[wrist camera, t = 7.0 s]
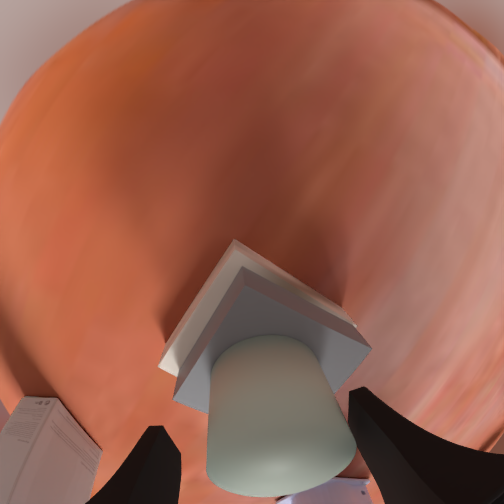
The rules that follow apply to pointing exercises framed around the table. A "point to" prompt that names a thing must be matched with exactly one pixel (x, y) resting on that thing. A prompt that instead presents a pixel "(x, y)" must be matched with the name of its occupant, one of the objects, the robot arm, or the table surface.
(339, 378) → the top block
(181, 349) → the base block
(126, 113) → the table surface
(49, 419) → the skincare box
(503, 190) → the table surface
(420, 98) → the table surface
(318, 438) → the green cylinder
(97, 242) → the table surface
